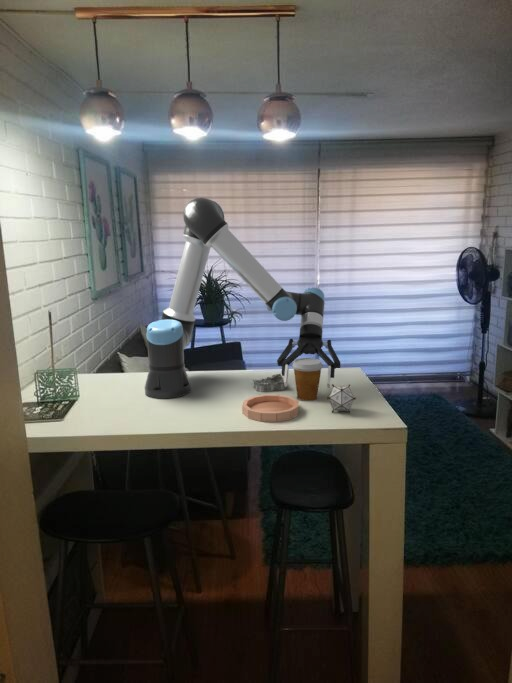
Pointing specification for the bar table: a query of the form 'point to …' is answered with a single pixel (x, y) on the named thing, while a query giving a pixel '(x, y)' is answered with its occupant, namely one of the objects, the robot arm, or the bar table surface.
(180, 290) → the robot arm
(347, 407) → the game die
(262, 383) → the egg carton
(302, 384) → the disposable coffee cup
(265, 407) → the terracotta bowl
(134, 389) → the bar table surface
